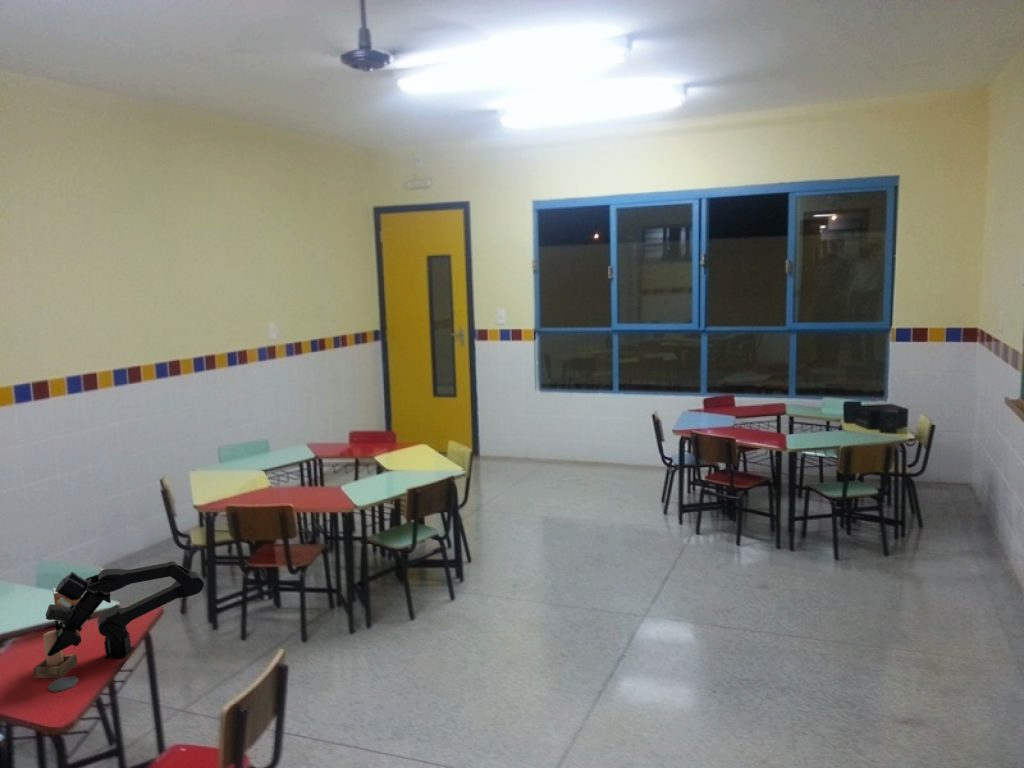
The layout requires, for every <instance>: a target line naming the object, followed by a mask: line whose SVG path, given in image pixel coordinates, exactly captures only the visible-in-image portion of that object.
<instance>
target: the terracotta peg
mask: <svg viewBox="0 0 1024 768" xmlns="http://www.w3.org/2000/svg"><path fill="white" fill-rule="evenodd" d="M56 632H59V631H58V630H55V629H54V630H50V631H47V632H45V633H43V635H42V639H43V647H44V648H43V649H44V655H45V659H46V662H47V667H59V666H60V665H61V664H62V663H64V659H63V655H64V654H63V652H64V651H63V650H61V651H59V652H58V653H56V654H54V655H52V656H48V655H47V654H48V652H49V650H50V649H51V647H52V646H53V644H54V642H55V641H56V639H57V635H56Z"/></svg>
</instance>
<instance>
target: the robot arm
mask: <svg viewBox="0 0 1024 768" xmlns="http://www.w3.org/2000/svg"><path fill="white" fill-rule="evenodd" d="M169 577H170V578H172V579H173V580H174V581H175V582H173V583H172V584H171V585H169V586H168V587H166V588H164V589H161V590H159V591H157V592H155V593H153V594H150V595H149V596H147V597H145V598H143V599H141V600H139V601H136V602H135V603H132V604H130V605H128V606H126V607H120V608H119V605H118V604H115V605H114V606H112V607H111V608H108V609H104V610H103V613H101V614H99V617H98V618H97V628H98V633H99V634H100V635H101V636H103V637H104V642H103V643H104V651H105V655H104V656H103V657H104V659H124V658H126V657H127V656H128V655H129V654H130V653H131V652H132V651H133V650H134V649H135V646H132V643H131V636H130V634H131V633H130V632H129V631H128V627H127V626H128V625H129V624H131V622H132V621H133V620H136V619H138V618H140V617H142V616H144V615H147V614H148V613H150V612H152V611H154V610H156V609H158V608H160V607H163V606H164V605H167V604H168V603H169V604H170V603H171V602H173V601H174V600H177V599H182V598H183V599H184V598H189V597H193V596H194V595H197V594H199V593H201V592H202V591H203V589H204V587H205V586H204V585H205V583H204V580H203V578H202V576H201V575H200V573H198V572H197V571H190V570H189V569H187V568H185V567H184V566H182V565H180V564H179V563H177V562H176V561H168V562H165V563H163V562H162V563H160V564H153V565H147V566H143V567H137V568H136V567H135V568H129V569H123V568H105V569H103V570H100V572H99V573H97V574H95V575H91V576H89V577H86V578H84V577H83V578H82V577H81V576H79V575H78V574H76V573H75V572H73V571H72V572H70V573H69V574H68V575H66V576H65V577H64V578H62V579H61V581H60V582H59V583H58V585H57V586H56V587H57V588H56V587H55V588H56V590H55V591H56V592H57V593H59V594H61V595H63V596H65V597H67V598H68V599H70V600H74V599H75V600H77V599H79V598H80V597H81V598H80V599H79V601H78V602H77V603H76V604H75V603H74V604H72V605H71V606H70V607H65V606H60V605H55V604H49V605H48V607H47V610H46V612H45V619H46V620H48V621H52V620H53V621H54V625H55V629H54V630H58V631H59V632H56V635H57V639H56V641H55V642H54V644H53V646H52V647H51V649H50V650H49V652H48V654H47V655H48V656H52V655H54V654H56V653H58V652H59V651H61V650H62V651H63V650H65V649H67V648H69V647H71V646H74V647H78V646H79V645H80V644H81V642H82V635H81V632H82V630H83V626H84V625H85V624H86V622H87V621H90V620H92V615H93V614H94V613H95V611H97V608H98V607H99V606H100V605H101V604H102V602H105V603H106V602H107V603H108V604H111V602H112V601H111V593H112V592H116V591H118V590H120V589H124V587H127V586H130V585H132V584H137V583H142V582H147V581H152V580H153V581H154V580H158V579H164V578H169ZM57 620H59V621H57Z"/></svg>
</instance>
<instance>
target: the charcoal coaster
mask: <svg viewBox="0 0 1024 768" xmlns="http://www.w3.org/2000/svg"><path fill="white" fill-rule="evenodd" d="M78 683H79V678H78V677H77V676H73V675H72V676H71V675H70V676H62V677H61V678H56V679H55V680H54V681H52V682H50V684H49V685H48V686H47V688H48V691H49V692H53V693H58V692H64V691H67V690H70V689H72V688H74V687H75V686H76V685H78Z"/></svg>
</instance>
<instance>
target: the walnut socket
mask: <svg viewBox="0 0 1024 768" xmlns="http://www.w3.org/2000/svg"><path fill="white" fill-rule="evenodd" d="M63 659H64V663H62V664H61V665H60V666H59V667H47V662H46V658H45V659H44V660H42V661H41V662H40V663H38V664H37V665H36V666H34V667H33V668H32V671H33V678H34V679H60V678H63V677H65V675H66V674H68V673H69V672H70V671H71V670H72V669H73V668H74V667H76V666H77V664H79V663H78V656H77V654H63ZM75 665H76V666H75Z"/></svg>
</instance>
